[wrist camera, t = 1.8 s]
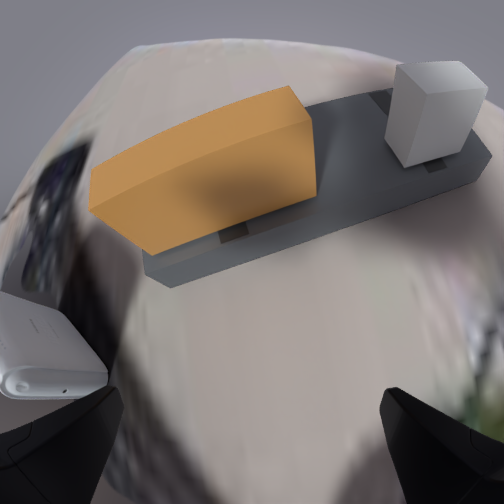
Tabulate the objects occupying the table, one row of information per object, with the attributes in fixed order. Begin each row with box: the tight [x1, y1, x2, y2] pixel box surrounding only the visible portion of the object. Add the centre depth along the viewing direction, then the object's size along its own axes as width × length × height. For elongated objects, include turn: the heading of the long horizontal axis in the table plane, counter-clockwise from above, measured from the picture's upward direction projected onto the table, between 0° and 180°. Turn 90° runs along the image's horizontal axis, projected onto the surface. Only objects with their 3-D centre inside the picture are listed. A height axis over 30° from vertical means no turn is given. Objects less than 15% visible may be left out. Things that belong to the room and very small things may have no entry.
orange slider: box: [88, 86, 317, 256], centre depth 16 cm, size 3×12×7 cm, turn 106°
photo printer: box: [0, 291, 108, 399], centre depth 18 cm, size 10×4×12 cm, turn 56°
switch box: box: [142, 88, 492, 288], centre depth 22 cm, size 10×30×4 cm, turn 106°
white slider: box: [384, 61, 488, 168], centre depth 15 cm, size 3×6×7 cm, turn 106°
